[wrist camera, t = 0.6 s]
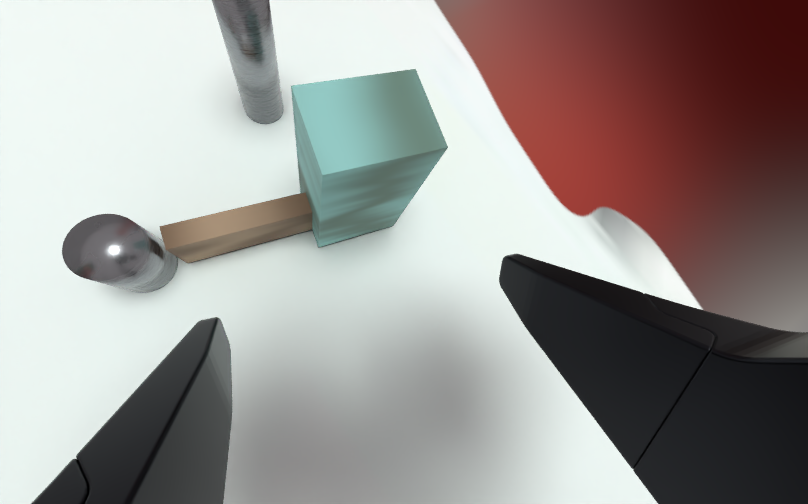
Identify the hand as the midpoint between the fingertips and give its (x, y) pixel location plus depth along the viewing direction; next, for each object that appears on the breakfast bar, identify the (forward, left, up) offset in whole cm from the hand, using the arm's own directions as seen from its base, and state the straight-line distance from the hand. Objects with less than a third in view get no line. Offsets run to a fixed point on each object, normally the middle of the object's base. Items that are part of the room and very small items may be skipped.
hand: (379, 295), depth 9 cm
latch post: (+13, -7, -12) cm, 19 cm away
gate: (+6, -2, -12) cm, 14 cm away
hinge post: (+10, +5, -12) cm, 16 cm away
